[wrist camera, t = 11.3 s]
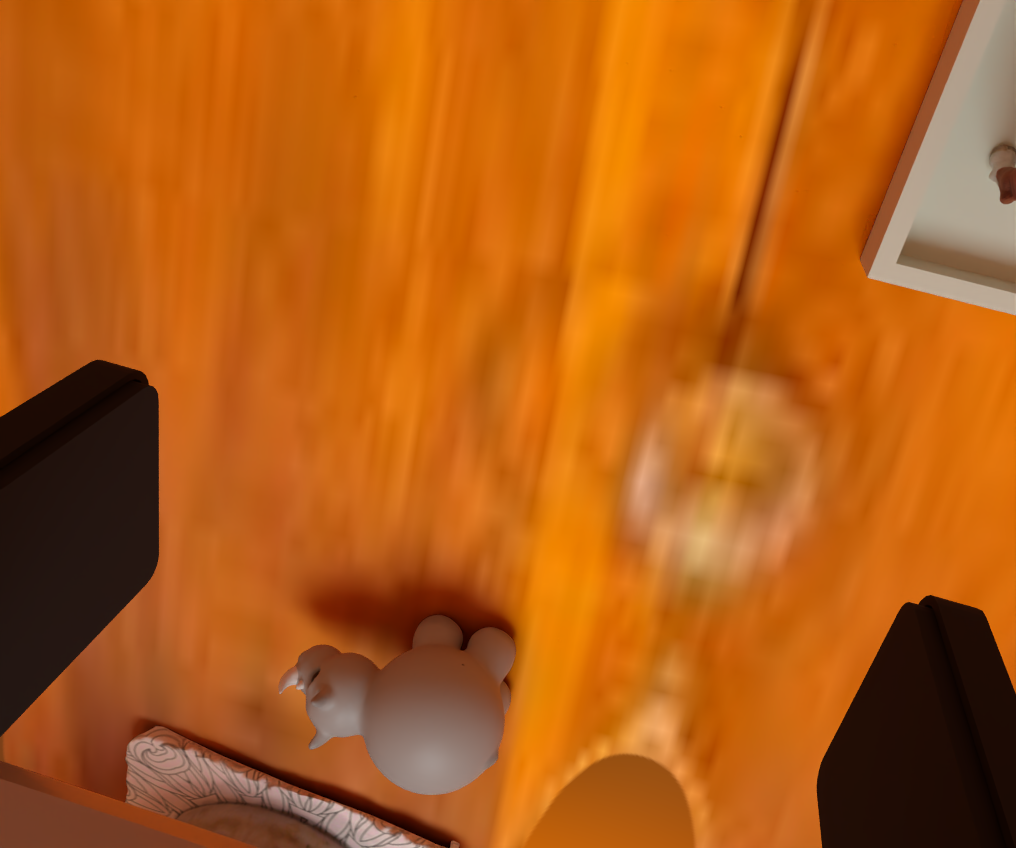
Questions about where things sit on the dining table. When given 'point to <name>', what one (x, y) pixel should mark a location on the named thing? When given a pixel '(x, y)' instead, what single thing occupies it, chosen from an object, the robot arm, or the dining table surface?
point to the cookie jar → (246, 800)
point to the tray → (956, 172)
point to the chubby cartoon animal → (415, 704)
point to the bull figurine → (1004, 172)
